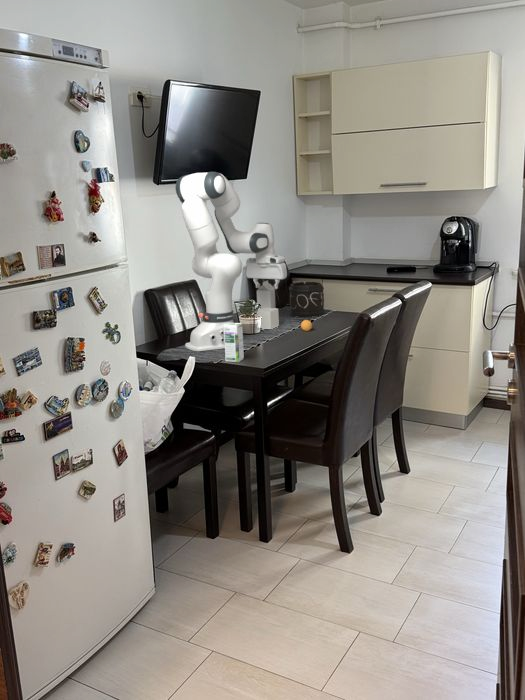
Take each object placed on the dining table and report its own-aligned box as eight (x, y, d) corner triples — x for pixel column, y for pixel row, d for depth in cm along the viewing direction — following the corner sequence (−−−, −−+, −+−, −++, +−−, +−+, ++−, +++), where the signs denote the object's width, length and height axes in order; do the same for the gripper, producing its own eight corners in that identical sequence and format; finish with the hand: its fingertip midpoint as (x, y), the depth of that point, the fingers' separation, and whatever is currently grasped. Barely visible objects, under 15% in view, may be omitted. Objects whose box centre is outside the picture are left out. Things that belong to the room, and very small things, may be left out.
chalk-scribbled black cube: (314, 319, 333) (313, 287, 329) (283, 316, 342) (282, 285, 338) (331, 312, 347) (331, 282, 343) (301, 310, 357) (300, 280, 353)
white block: (270, 330, 313) (270, 311, 311) (257, 328, 317) (256, 310, 315) (278, 326, 319) (278, 308, 317) (265, 325, 323) (264, 307, 321)
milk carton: (257, 320, 335) (256, 282, 331) (262, 317, 342) (261, 280, 337) (271, 321, 333) (269, 282, 328) (275, 318, 339) (274, 280, 335)
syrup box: (225, 361, 262) (222, 325, 259) (231, 357, 268) (229, 321, 264) (238, 362, 260) (236, 325, 257) (244, 358, 266) (242, 322, 262)
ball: (304, 332, 305) (304, 321, 304) (299, 330, 310) (298, 319, 308) (314, 330, 308) (313, 320, 306) (308, 329, 312) (308, 318, 311)
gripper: (242, 258, 313) (244, 288, 316) (281, 259, 302) (282, 290, 306) (249, 257, 318) (251, 286, 321) (287, 257, 307) (289, 288, 311)
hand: (266, 288), depth 313 cm, fingers open, 8 cm apart
